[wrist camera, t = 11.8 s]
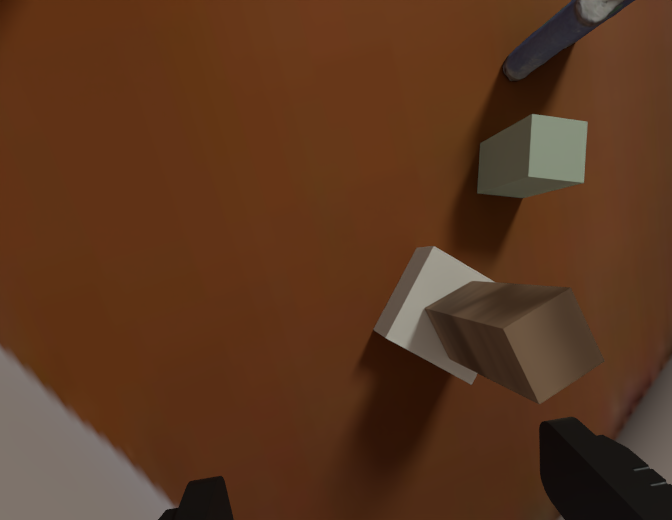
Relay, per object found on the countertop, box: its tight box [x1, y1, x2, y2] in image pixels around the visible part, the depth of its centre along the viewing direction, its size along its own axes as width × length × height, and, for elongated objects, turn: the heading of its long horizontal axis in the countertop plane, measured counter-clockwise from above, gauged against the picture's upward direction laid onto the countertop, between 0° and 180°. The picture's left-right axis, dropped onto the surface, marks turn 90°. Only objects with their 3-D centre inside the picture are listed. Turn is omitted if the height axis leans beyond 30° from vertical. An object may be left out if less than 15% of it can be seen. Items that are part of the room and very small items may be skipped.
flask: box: [503, 0, 635, 81], centre depth 30 cm, size 9×3×11 cm, turn 124°
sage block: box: [477, 114, 587, 198], centre depth 32 cm, size 4×4×7 cm
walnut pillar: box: [424, 281, 604, 404], centre depth 25 cm, size 4×4×10 cm
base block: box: [373, 246, 494, 385], centre depth 32 cm, size 8×8×4 cm
